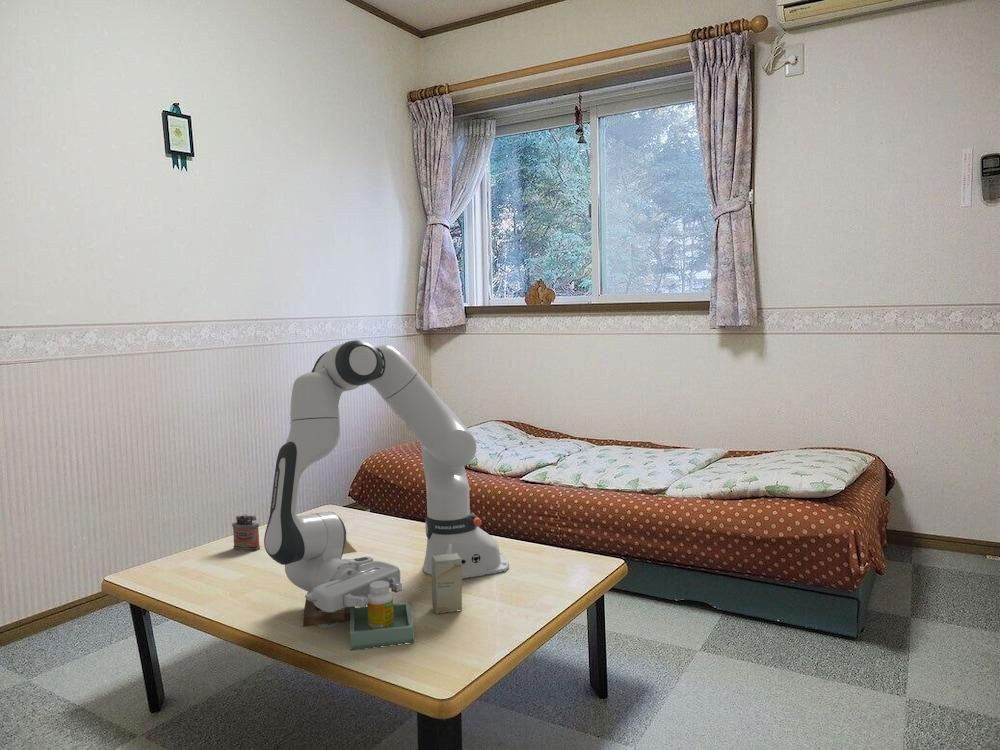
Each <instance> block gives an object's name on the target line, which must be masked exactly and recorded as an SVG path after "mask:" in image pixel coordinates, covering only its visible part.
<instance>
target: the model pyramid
mask: <svg viewBox="0 0 1000 750" xmlns="http://www.w3.org/2000/svg"><path fill="white" fill-rule="evenodd" d="M352 546H353V545H352V544H351V543H350V542H349V540H348V539H347V538H346V544H345V548H344V552H343V555H346V553H347V554H353V553H358V551H357V550H356V549H355V548H354V546H353V547H352Z"/></svg>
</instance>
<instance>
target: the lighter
mask: <svg viewBox="0 0 1000 750" xmlns="http://www.w3.org/2000/svg"><path fill="white" fill-rule="evenodd" d="M254 521H255V522H254ZM256 521H257V516H256V515H252V514H251V515H248V514H246V513H245V514H242V515H236V516H235V521H234V522H232V524H231V526H232V532H233V547H232V548H233V550H234V549H236V550H235V551H239V550H244V551H243V552H258V551H260V550H261V545H260V535H259V534H260V532H259V527H260V523H259V522H256ZM257 550H258V551H257Z"/></svg>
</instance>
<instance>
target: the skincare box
mask: <svg viewBox="0 0 1000 750" xmlns="http://www.w3.org/2000/svg"><path fill="white" fill-rule="evenodd" d="M462 580H463V579H462V570H461V557H460V556H459V554H458V553H452V554H442V555H432V575H431V587H432V588H431V594H432V595H431V600H432V601H431V602H432V606H431V607H432V610H433V611H434V613H435V614H437V615H439V613H440V614H446V613H445V612H449V613H454V612H453V611H457V610H462V611H463V594H462V593H463V592H462V591H463V589H462V588H463V586H462V585H463V583H462V582H463V581H462ZM457 612H458V611H457Z"/></svg>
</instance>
